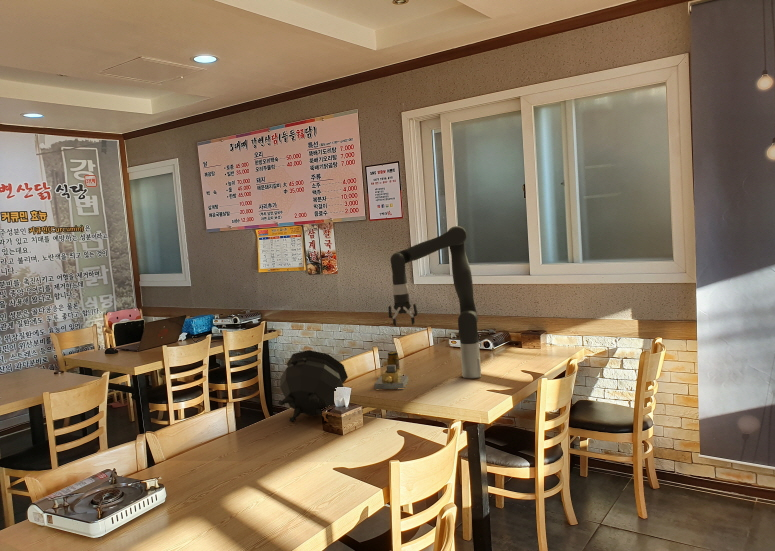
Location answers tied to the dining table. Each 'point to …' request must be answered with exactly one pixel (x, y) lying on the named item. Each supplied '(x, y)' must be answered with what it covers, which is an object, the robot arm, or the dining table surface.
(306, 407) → the cauldron
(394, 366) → the gray rectangular block
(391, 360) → the condiment
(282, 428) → the dining table surface
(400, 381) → the square stand
